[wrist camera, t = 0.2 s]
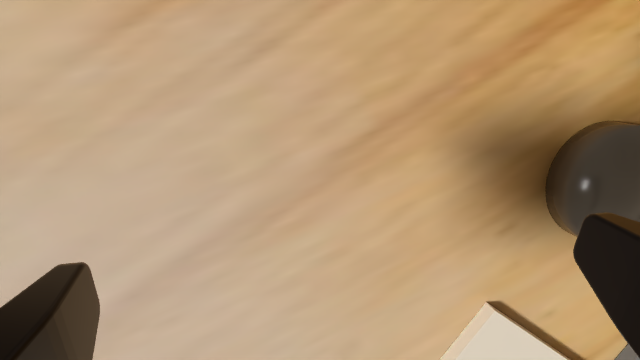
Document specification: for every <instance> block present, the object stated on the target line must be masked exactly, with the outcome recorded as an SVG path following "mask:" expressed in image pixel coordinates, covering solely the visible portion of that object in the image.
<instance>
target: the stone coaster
mask: <svg viewBox="0 0 640 360" xmlns="http://www.w3.org/2000/svg"><path fill="white" fill-rule="evenodd" d="M440 360H571V359H569V358H568V357H566V356H565V355H563V354H562V353H560V352H559V351H558V350H556V349H555V348H553V347H552V346H550V345H549V344H547V343H546V342H544V341H543V340H541V339H540V338H538V337H537V336H535V335H534V334H533V333H531V332H530V331H528V330H527V329H525V328H524V327H522V326H521V325H519V324H518V323H516V322H515V321H513V320H512V319H510V318H509V317H508V316H506V315H505V314H503V313H502V312H500V311H499V310H497V309H496V308H494V307H493V306H491V305H490V304H488V303H487V302H486V303H485V304H484V305H483V306H482V308H481V309H480V310H479V311H478V313H477V314H476V315H475V316H474V318H473V319H472V320H471V321H470V323H469V324H468V325H467V326H466V327H465V329H464V330H463V331H462V332H461V334H460V335H459V336H458V337H457V339H456V340H455V341H454V342H453V344H452V345H451V346H450V347H449V349H448V350H447V351H446V352H445V353H444V355H443V356H442V357H441V358H440Z"/></svg>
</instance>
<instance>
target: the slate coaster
mask: <svg viewBox="0 0 640 360" xmlns="http://www.w3.org/2000/svg"><path fill="white" fill-rule="evenodd" d="M615 360H640V359H639V358H638V356H637V355H636V353H635V352H634V351H633V349H632V348H631V347H630V345H629V344H628V345H627V346H626V347H625V348H624V349H623V351H622V352H621V353H620V354H619V355H618V356H617V358H616V359H615Z"/></svg>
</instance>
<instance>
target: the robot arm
mask: <svg viewBox="0 0 640 360" xmlns="http://www.w3.org/2000/svg"><path fill="white" fill-rule="evenodd" d="M573 254H574V259H575V261H576V263H577V265H578V266H579V268H580V270H581V271H582V273H583V274H584V276H585V278H586V279H587V281H588V283H589V284H590V286H591V287H592V289H593V291H594V292H595V294H596V296H597V297H598V299H599V300H600V302H601V304H602V305H603V307H604V309H605V310H606V312H607V313H608V315H609V317H610V318H611V320H612V321H613V323H614V324H615V326H616V327H617V329H618V330H619V332H620V333H621V335H622V336H623V337H624V339H625V340H626V341H627V343H628V344H629V345H630V347H631V348H632V349H633V351H634V352H635V353H636V355H637V356H638V358H639V359H640V222H637V221H634V220H631V219H628V218H625V217H622V216H619V215H616V214H613V213H607V212H606V213H596V214H590V215H588V216H586V217H585V219H584V220H583V222H582V225H581V228H580V231H579V234H578V237H577V240H576V243H575V246H574V249H573ZM99 315H100V304H99V299H98V295H97V291H96V288H95V284H94V281H93V277H92V274H91V270H90V268H89V266H88V265H87V264H86V263H84V262H80V263H69V264H60V265H57V266H56V267H54V268H53V269H52V270H50V271H49V272H48V273H46V274H45V275H44V276H42V277H41V278H40V279H38V280H37V281H36V282H34V283H33V284H32V285H30V286H29V287H28V288H26V289H25V290H24V291H22V292H21V293H20V294H18V295H17V296H15V297H14V298H13V299H11V300H10V301H9V302H7V303H6V304H5V305H3V306H2V307H1V308H0V360H92V359H93V352H94V346H95V340H96V334H97V328H98V322H99Z"/></svg>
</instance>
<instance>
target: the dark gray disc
mask: <svg viewBox="0 0 640 360" xmlns="http://www.w3.org/2000/svg"><path fill="white" fill-rule="evenodd" d="M546 202H547V206H548V209H549V212H550V214H551V216H552V218H553V219H554V221H555V222H556V223H557V224H558V225H559V226H560V227H561V228H562V229H563V230H565V231H567V232H568V233H570V234H572V235H574V236H576V237H578V234H579V231H580V228H581V225H582V222H583V220H584V219H585V217H586V216H588V215H590V214H596V213H606V212H607V213H613V214H616V215H619V216H622V217H625V218H628V219H631V220H634V221H637V222H640V125H635V124H629V123H623V122H617V121H605V122H599V123H595V124H592V125H590V126H588V127H585V128H584V129H582V130H580V131H579V132H577V133H576V134H575V135H573V136H572V137H571V138H570V139H569V140H568V141H567V142H566V143H565V144H564V145H563V146H562V148H561V149H560V150H559V152H558V153H557V155H556V157H555V158H554V160H553V162H552V164H551V167H550V169H549V173H548V176H547V181H546Z"/></svg>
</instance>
